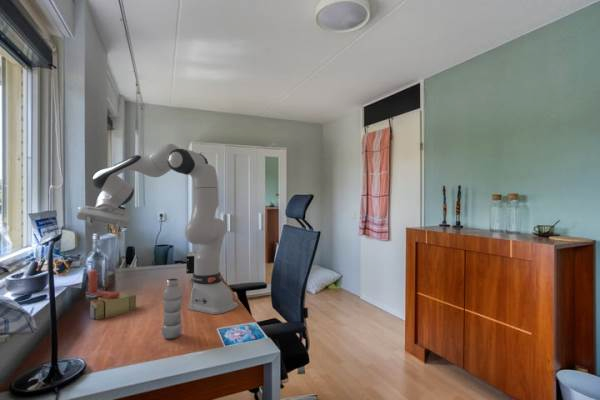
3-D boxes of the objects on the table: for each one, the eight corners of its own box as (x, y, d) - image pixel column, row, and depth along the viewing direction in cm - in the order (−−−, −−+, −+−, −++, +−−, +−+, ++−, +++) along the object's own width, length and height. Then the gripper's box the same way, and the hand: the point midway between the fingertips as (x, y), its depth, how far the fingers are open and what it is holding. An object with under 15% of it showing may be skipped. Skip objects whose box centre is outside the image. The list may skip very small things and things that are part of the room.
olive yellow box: (129, 305, 139) (130, 290, 139) (137, 309, 134) (137, 294, 134) (88, 315, 126) (88, 299, 126) (95, 320, 121) (95, 303, 121)
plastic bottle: (175, 331, 113) (176, 276, 113) (185, 336, 108) (186, 279, 108) (158, 337, 108) (158, 279, 108) (168, 343, 103) (168, 283, 103)
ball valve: (202, 285, 171) (202, 253, 171) (185, 286, 169) (186, 254, 169) (203, 277, 188) (204, 248, 188) (188, 278, 186) (189, 248, 186)
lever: (121, 294, 132) (121, 271, 132) (114, 297, 128) (114, 273, 128) (93, 292, 134) (93, 269, 134) (85, 295, 130) (85, 271, 130)
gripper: (81, 199, 139) (75, 214, 128) (131, 209, 150) (130, 224, 139) (77, 211, 141) (72, 227, 130) (127, 220, 152) (126, 235, 141)
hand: (102, 226), depth 135 cm, fingers open, 8 cm apart
